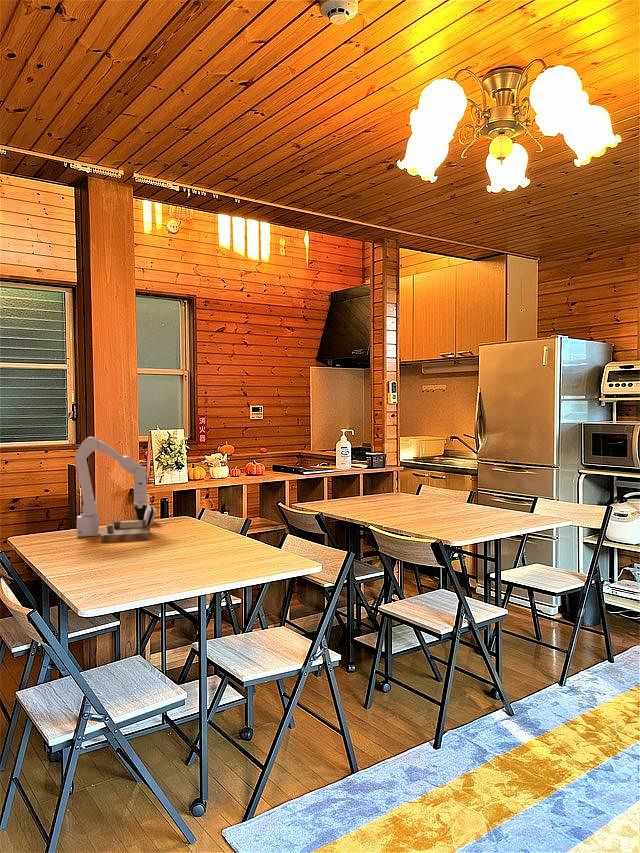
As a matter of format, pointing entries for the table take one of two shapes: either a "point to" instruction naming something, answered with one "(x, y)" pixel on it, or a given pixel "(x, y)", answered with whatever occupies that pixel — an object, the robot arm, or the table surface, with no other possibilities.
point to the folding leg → (129, 524)
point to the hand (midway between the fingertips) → (141, 521)
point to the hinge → (149, 515)
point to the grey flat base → (124, 534)
